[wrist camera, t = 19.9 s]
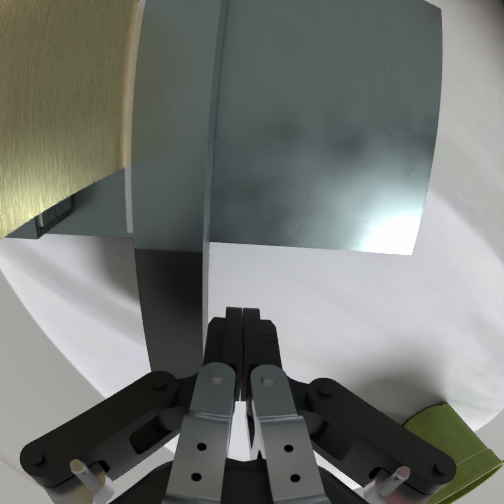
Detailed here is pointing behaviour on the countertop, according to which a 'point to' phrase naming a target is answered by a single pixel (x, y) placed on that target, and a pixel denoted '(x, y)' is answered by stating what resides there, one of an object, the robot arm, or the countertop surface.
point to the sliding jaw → (173, 172)
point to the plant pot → (455, 450)
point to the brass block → (60, 99)
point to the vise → (307, 130)
